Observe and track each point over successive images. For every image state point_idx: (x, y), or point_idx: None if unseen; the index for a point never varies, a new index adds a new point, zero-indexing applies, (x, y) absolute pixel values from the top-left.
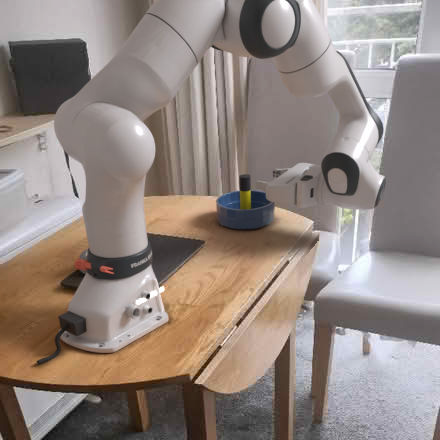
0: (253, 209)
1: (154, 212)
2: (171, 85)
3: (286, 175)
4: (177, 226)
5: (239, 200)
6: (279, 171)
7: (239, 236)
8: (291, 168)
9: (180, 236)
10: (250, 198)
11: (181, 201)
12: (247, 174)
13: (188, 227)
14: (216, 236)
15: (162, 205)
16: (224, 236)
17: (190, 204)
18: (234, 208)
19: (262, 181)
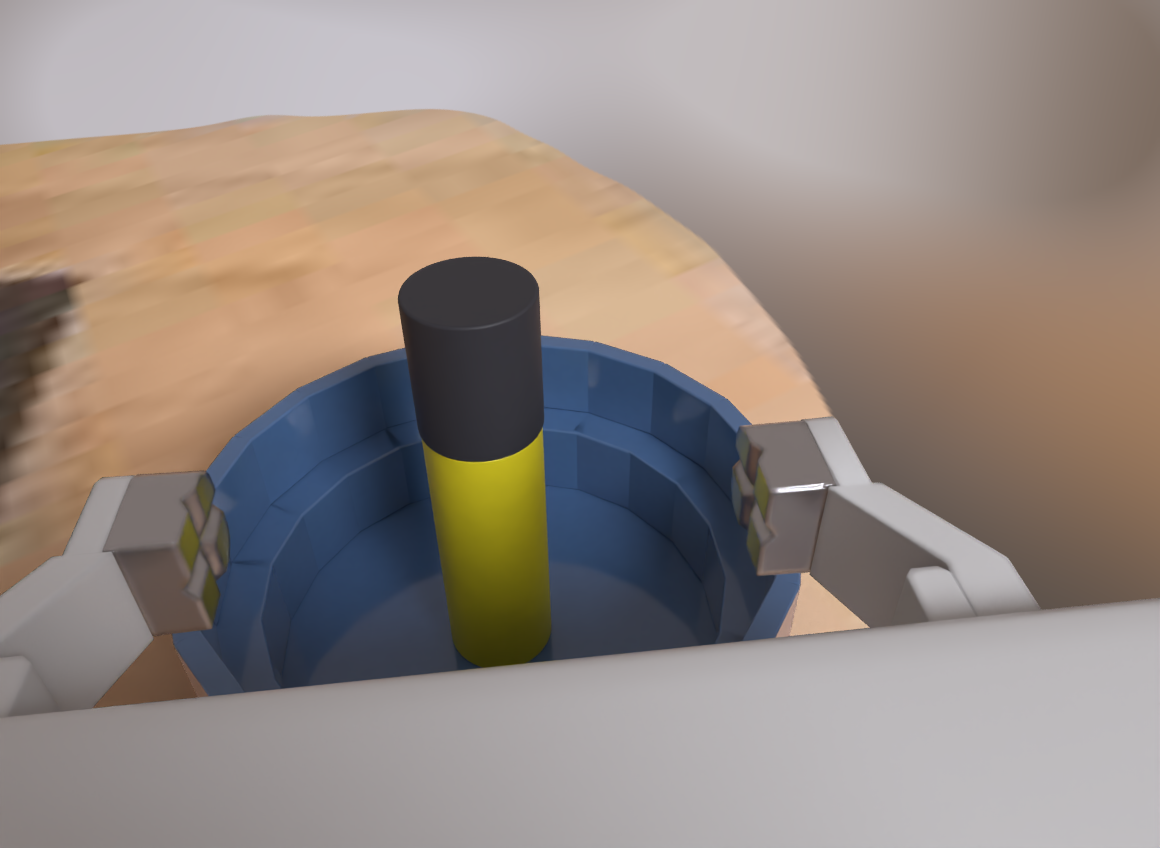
0: None
1: (381, 229)
2: None
3: (328, 821)
4: (210, 374)
5: (655, 443)
6: (790, 501)
7: None
8: (887, 647)
9: (30, 458)
10: (503, 530)
11: (594, 236)
12: (531, 286)
13: (209, 421)
14: None
15: (491, 213)
16: None
17: (580, 276)
18: (590, 476)
19: (97, 544)
